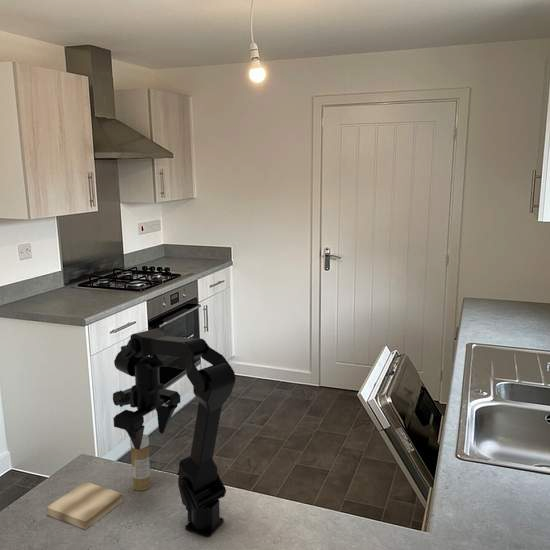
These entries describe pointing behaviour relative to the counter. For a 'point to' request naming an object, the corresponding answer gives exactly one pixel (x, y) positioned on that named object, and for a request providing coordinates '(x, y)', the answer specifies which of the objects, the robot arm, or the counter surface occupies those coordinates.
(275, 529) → the counter surface
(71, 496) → the tan block
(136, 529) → the counter surface
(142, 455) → the sprinkles bottle
